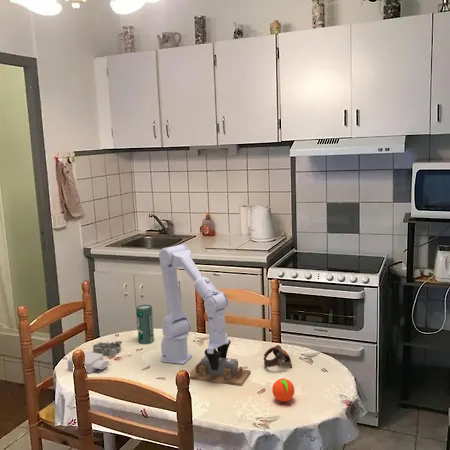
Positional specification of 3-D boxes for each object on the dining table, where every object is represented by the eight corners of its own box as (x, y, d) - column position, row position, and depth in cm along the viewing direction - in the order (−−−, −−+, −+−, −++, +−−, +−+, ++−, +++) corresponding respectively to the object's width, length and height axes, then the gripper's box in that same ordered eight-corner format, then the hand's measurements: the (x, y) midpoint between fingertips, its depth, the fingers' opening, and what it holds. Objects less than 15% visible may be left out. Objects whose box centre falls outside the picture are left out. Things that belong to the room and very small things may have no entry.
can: (141, 338, 218) (138, 304, 215) (155, 338, 217) (153, 304, 215) (137, 344, 212) (134, 309, 209) (151, 344, 211) (149, 309, 209)
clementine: (299, 405, 157) (298, 384, 156) (277, 409, 156) (276, 387, 155) (290, 393, 165) (289, 372, 164) (269, 396, 164) (269, 375, 163)
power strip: (201, 373, 180) (200, 359, 179) (205, 368, 183) (205, 354, 183) (233, 377, 176) (233, 363, 175) (237, 372, 179) (237, 358, 178)
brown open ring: (295, 373, 181) (284, 356, 178) (271, 383, 183) (260, 366, 180) (292, 351, 192) (282, 335, 189) (269, 361, 194) (259, 345, 191)
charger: (101, 377, 183) (68, 371, 189) (117, 366, 191) (84, 361, 197) (100, 364, 182) (67, 359, 188) (116, 354, 190) (83, 349, 196)
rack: (187, 378, 179) (186, 366, 178) (198, 366, 188) (197, 355, 187) (241, 385, 172) (241, 373, 171) (250, 373, 181) (250, 361, 180)
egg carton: (123, 350, 206) (123, 341, 206) (113, 358, 199) (112, 348, 199) (101, 347, 210) (101, 337, 210) (90, 354, 203) (89, 344, 203)
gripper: (220, 336, 169) (222, 375, 171) (234, 322, 182) (236, 358, 184) (200, 334, 171) (202, 373, 173) (216, 320, 185) (217, 356, 187)
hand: (218, 365), depth 179 cm, fingers open, 7 cm apart
